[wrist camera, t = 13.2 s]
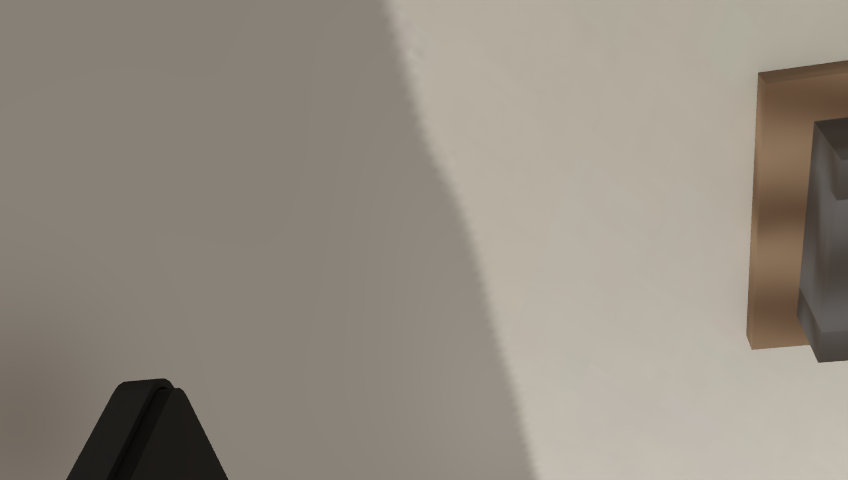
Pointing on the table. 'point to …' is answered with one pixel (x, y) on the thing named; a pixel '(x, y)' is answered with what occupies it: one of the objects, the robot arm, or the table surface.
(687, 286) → the table surface
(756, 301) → the lamp socket
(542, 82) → the table surface
